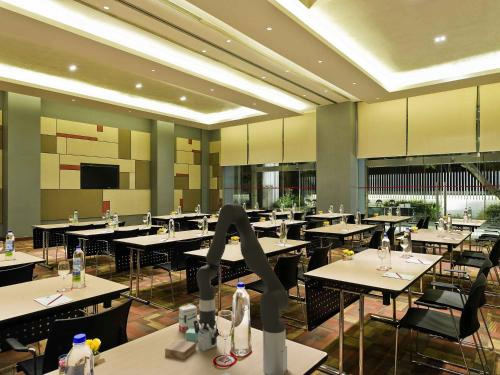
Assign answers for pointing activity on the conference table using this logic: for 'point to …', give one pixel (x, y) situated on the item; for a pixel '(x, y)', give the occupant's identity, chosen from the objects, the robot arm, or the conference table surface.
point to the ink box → (187, 317)
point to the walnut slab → (180, 349)
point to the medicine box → (205, 340)
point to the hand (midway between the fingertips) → (207, 343)
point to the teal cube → (191, 335)
